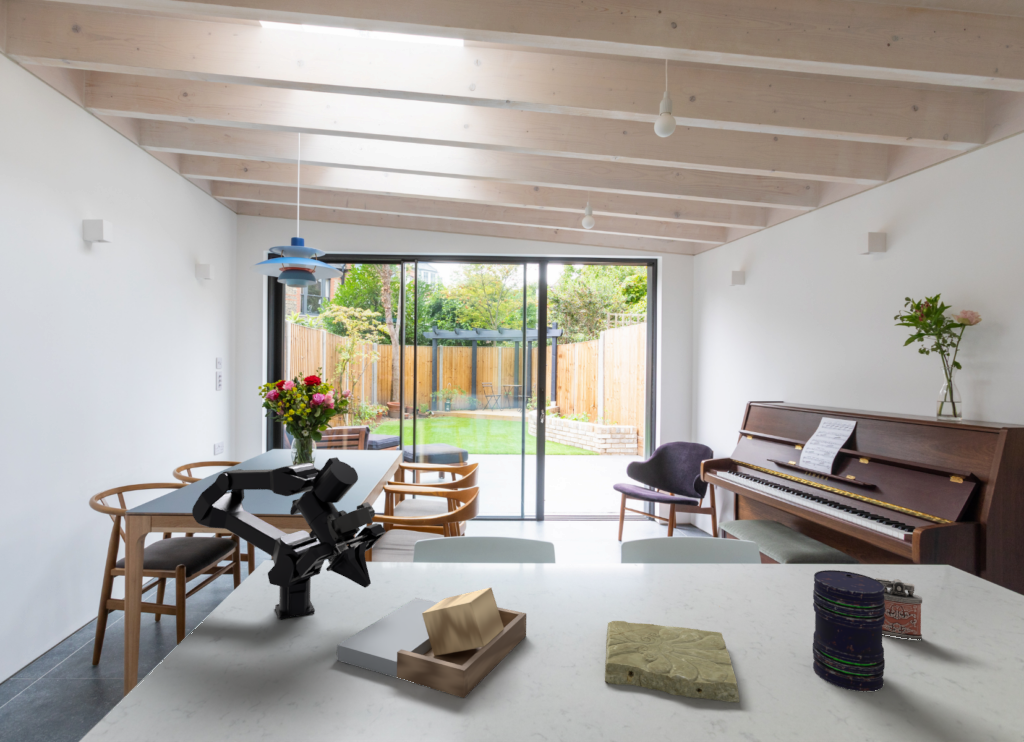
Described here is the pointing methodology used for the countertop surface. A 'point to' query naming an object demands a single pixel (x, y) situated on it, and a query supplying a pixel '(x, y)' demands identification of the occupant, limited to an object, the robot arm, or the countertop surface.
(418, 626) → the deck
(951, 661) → the countertop surface
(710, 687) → the decorative tile
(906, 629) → the lighter
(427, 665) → the bin
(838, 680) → the dark blue barrel
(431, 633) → the block
